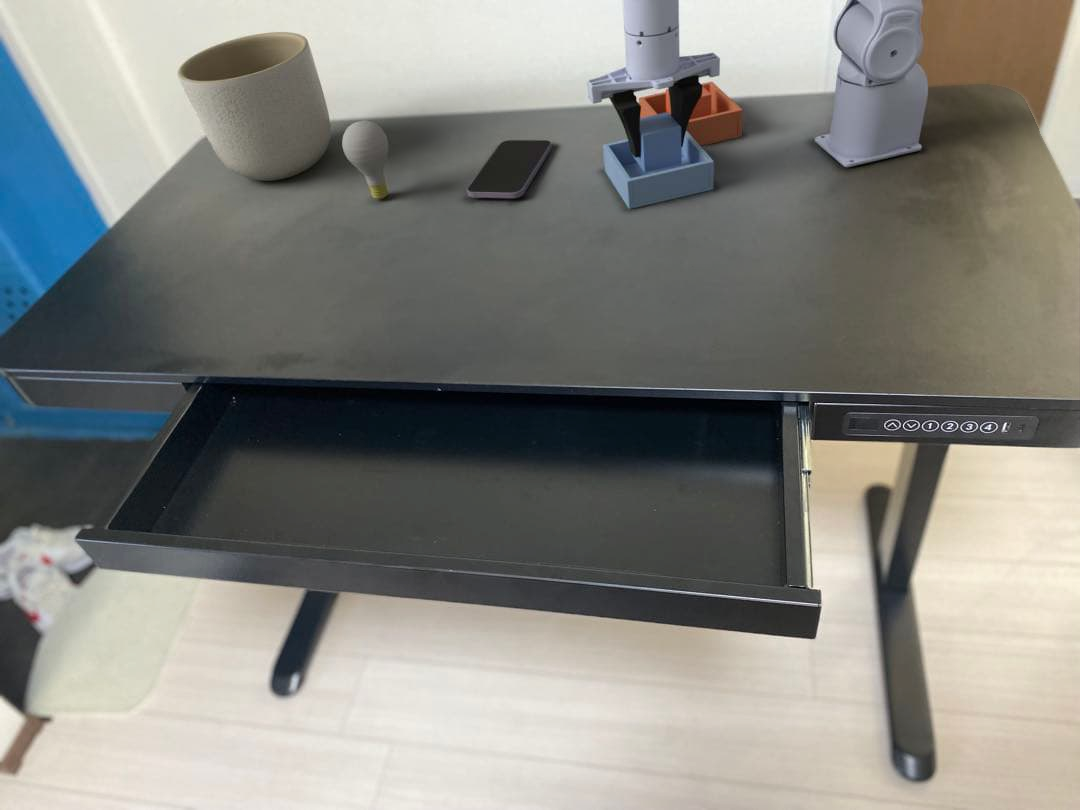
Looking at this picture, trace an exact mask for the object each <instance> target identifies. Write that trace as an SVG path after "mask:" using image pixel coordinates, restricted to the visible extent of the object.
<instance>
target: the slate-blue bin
mask: <svg viewBox="0 0 1080 810" xmlns="http://www.w3.org/2000/svg"><path fill="white" fill-rule="evenodd" d="M602 150H603V162H604V163H603V164H604V172H605V173H606V175H607V177H608V179H609V180H610V182H611V183H612V185H613V186H614V188H615V189H616V191H617V192H618V194H619V196H620V197H621V198H622V200H623V202H624V203H625V205H626V207H627V208H628V210H632V209H635V208H639V207H645V206H648V205H652V204H657V203H662V202H666V201H669V200H674V199H678V198H683V197H688V196H691V195H695V194H699V193H705V192H709V191H712V190H714V189H715V188H714V184H715V183H714V179H715V178H714V177H715V175H714V174H715V173H714V172H715V171H714V170H715V161H714V160H713V159H712V157H711V156H710V155H709V154H708V153H707V152H706V151H705V150H704V148H703V147H702V146H700V145H699V144H698V143H697V142H696V141H695V140H694V139H693V137H692V136H691V135H690V134H689V133H688V132H687V131H686V133H685V137H684V142H683V147H681V155H682V164H679V165H675V166H671V167H666V168H662V169H658V170H653V171H649V172H644V171H643V170H642V168H641V167H640V165H639V164H638V163H637V161H636V160H635V158H634V157H633V154H632V153H631V151H630V146H629V142H628V138H626V139H623V140H618V141H614V142H609V143H605V144H602Z"/></svg>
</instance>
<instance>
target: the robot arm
mask: <svg viewBox="0 0 1080 810" xmlns="http://www.w3.org/2000/svg"><path fill="white" fill-rule="evenodd" d="M923 10H924V5H923V0H846V2H845V4H844V7H843V8H842V10H841V11H840V13H839V14H838V16H837V18H836V20H835V23H834V27H833V40H834V44H835V46H836V47H837V49H838V50H839V51H840V52H841V56H840V61H839V64H838V66H837V71H836V72H837V73H836V79H835V88H834V89H835V90H834V99H833V106H832V115H831V124H830V132H829V133H826V134H822V135H817V136H815V137H814V143H816V144H817V145H818V146H820V147H821V148H822V149H823V150H824V151H825V152H827V153H828V154H829V155H830V156H831V157H832V158H834V159H835V160H836V161H837V162H838V163H839V164H840V165H842V166H843V167H844V168H851V167H855V166H860V165H864V164H868V163H873V162H877V161H881V160H885V159H890V158H894V157H898V156H902V155H907V154H911V153H915V152H919V151H922V148H923V145H922V144H920V143H919V142H920V137H921V131H922V127H923V121H924V118H925V117H924V116H925V111H926V106H927V102H928V97H929V84H928V78H927V74H926V72H925V70H924V68H923V67H922V66H921V65H920V64H918V63H917V62H918V61H919V60H920V57H921V55H922V52H923V48H924V36H923V33H922V29H921V20H922V15H923V12H924V11H923ZM622 15H623V29H624V45H625V46H624V47H625V62H626V66H624V67H622V68H620V69H619V68H618V69H617V70H614V71H612V72H609V73H606V74H604V75H601V76H599V77H595V78H591V79H588V80H586V87H587V97H588V99H589V101H590V102H591V103H592V104H599V103H602V102H603V100H606V99H609V101H610V102H611V104H612V105H613V107H614V109H615V112H616V113H617V115H618V117H619V119H620V122H621V124H622V126H623V129H624V132H625V135H626V139H628V142H629V146H630V151H631V153H632V154H633V155H634V157H635V158H637V157H641V141H640V113H641V106H640V104H639V101H637V100H638V99H637V95H635V93H636V92H641V91H646V90H650V89H655V90H663V89H668V90H669V97H670V107H671V116H672V117H673V118H674V119H675V121H676V122H677V123H678V124H679V125H680V126H681V147H683V142H684V137H685V133H686V129H687V126H688V123H689V120H690V117H691V115H692V112H693V110H694V108H695V106H696V104H697V102H698V101H699V99H700V97H701V96H702V90H703V86H702V85H701V84H702V83H700V78H704V77H709V78H715V77H719V76H721V75H720V73H721V58H720V57H719V56H718V55H717V54H716V53H715V52H709V53H703V54H695V55H694V54H693V55H682V56H681V55H680V53H681V52H680V1H679V0H622Z"/></svg>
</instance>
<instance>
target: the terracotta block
mask: <svg viewBox="0 0 1080 810" xmlns="http://www.w3.org/2000/svg"><path fill="white" fill-rule="evenodd" d="M665 92H666V112H668V113H669V114H670V115H671V107H670V97H669V90H668V88H665ZM708 115H711V94H710V93H709V92H708V91H707V90H706V89H705V88H704V87H703V90H702V96H701V97H700V99H699V101H698V102H697V104H696V106H695V108H694V110H693V112H692V115H691V117H690V120H691V119H695V118H700V117H704V116H708Z"/></svg>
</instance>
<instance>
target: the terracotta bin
mask: <svg viewBox="0 0 1080 810" xmlns="http://www.w3.org/2000/svg"><path fill="white" fill-rule="evenodd" d="M700 84H701V85H702V86H703V87H704V88H705V89H706V90H707V91H708V92H709V93H710V94H711V115H708V116H704V117H700V118H695V119H691V120H689V123H688V126H687V129H686V131H687V132H688V133H689V134H690V135H691V136H692V137H693V139H694V140H695V141H696V142H697V143H698V144H699V145H700V146H701V147H702V146H706V145H710V144H715V143H719V142H723V141H728V140H732V139H733V140H734V139H736V138H741V137H742V136H743V135H742V131H743V109H742V108H741V107H740V106H739V105H738V104H737V103H736V102H735V101H734V100H733V99H731V97H730V96H728V94H727V93H725V92H724V91H723V90H722V89H721V88H720V87H719V86H718V85H716V84H715V83H714V82H713V81H707V82H703V83H700ZM638 103H639V104H640V106H641V113H640V118H644V117H648V116H653V115H657V114H661V113H666V91H663V92H658V93H655V94H650V95H646V96H641V97H638Z"/></svg>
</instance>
